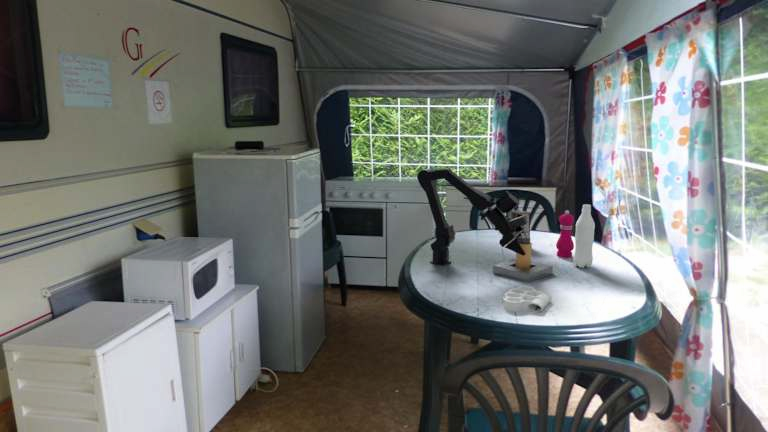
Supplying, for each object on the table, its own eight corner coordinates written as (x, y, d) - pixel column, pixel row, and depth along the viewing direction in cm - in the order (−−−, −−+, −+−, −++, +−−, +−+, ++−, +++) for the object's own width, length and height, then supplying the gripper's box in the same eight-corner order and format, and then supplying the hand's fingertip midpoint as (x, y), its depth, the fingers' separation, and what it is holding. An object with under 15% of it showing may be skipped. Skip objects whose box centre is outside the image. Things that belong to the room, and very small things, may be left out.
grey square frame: (528, 282, 192) (529, 274, 192) (492, 272, 204) (493, 265, 203) (552, 273, 203) (552, 265, 202) (516, 264, 214) (517, 257, 214)
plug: (518, 275, 200) (520, 235, 197) (512, 271, 206) (514, 232, 202) (532, 275, 201) (534, 235, 198) (526, 270, 206) (528, 231, 203)
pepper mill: (570, 253, 230) (573, 208, 227) (575, 258, 223) (578, 212, 220) (553, 253, 231) (556, 208, 227) (557, 258, 224) (560, 211, 220)
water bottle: (593, 269, 208) (598, 206, 203) (574, 268, 209) (578, 206, 204) (590, 264, 215) (594, 203, 210) (571, 263, 216) (575, 203, 211)
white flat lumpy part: (538, 317, 160) (492, 308, 168) (554, 300, 175) (511, 292, 183) (539, 307, 160) (492, 298, 167) (554, 290, 175) (511, 283, 182)
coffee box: (530, 247, 243) (531, 212, 240) (519, 248, 240) (520, 213, 237) (517, 242, 251) (518, 209, 248) (506, 244, 248) (507, 210, 245)
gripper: (509, 211, 192) (538, 244, 189) (520, 203, 208) (547, 233, 206) (487, 230, 197) (515, 263, 194) (499, 221, 213) (526, 251, 211)
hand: (527, 252), depth 201 cm, fingers open, 9 cm apart
